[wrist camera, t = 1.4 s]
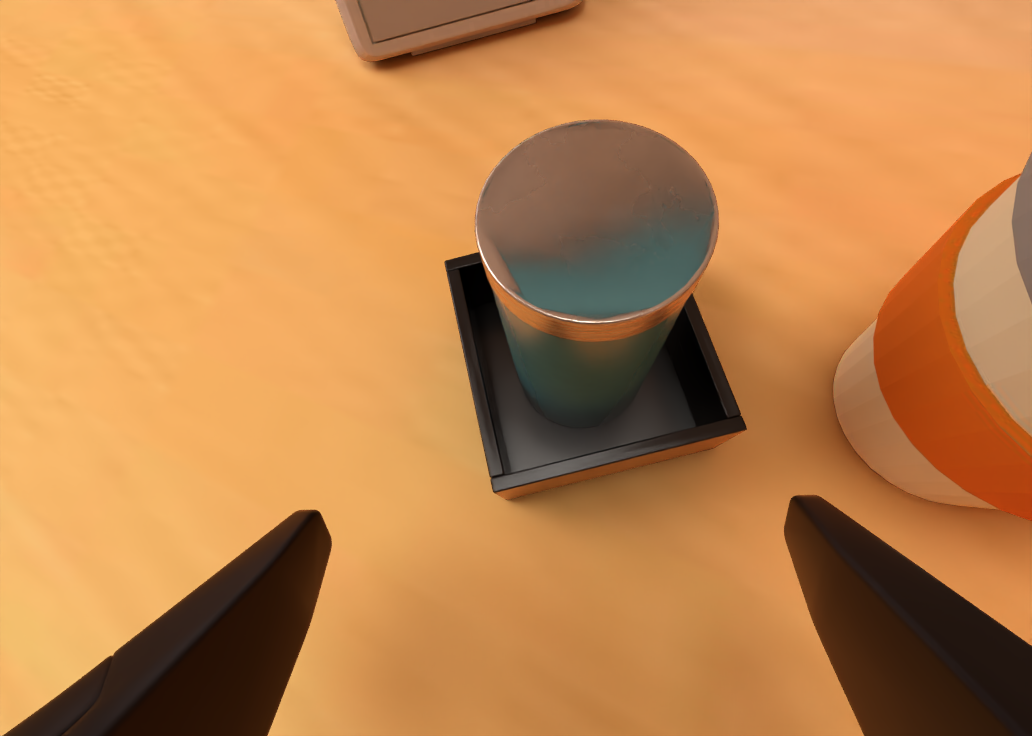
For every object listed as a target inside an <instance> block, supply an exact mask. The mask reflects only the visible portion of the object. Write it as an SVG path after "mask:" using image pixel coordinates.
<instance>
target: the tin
mask: <svg viewBox="0 0 1032 736" xmlns="http://www.w3.org/2000/svg"><path fill="white" fill-rule="evenodd" d="M718 229H719V212H718V206H717V201H716V196H715V194H714V191H713V188H712V186H711V183H710V181H709V180H708V178H707V176H706V174H705V172H704V171H703V169H702V168H701V167H700V166H699V164H698V163H697V162H696V160H695V159H694V158H693V157H692V156H691V155H690V154H689V153H688V152H687V151H686V150H684V149H683V148H682V147H681V146H679V145H678V144H677V143H675V142H674V141H672V140H671V139H669V138H667V137H666V136H664V135H662V134H660V133H658V132H655V131H653V130H651V129H649V128H646V127H643V126H639V125H636V124H632V123H627V122H623V121H614V120H583V121H575V122H570V123H565V124H561V125H558V126H555V127H552V128H549V129H546V130H544V131H542V132H540V133H537V134H535V135H533V136H532V137H530V138H528V139H526V140H525V141H523V142H522V143H520V144H519V145H518V146H516V147H515V148H513V149H512V150H511V151H510V152H509V153H508V154H507V155H506V156H505V157H503V158H502V160H501V161H500V162H499V163H498V164H497V165H496V167H495V168H494V169H493V171H492V172H491V174H490V175H489V177H488V178H487V180H486V182H485V184H484V186H483V189H482V191H481V193H480V196H479V200H478V203H477V207H476V214H475V236H476V242H477V247H478V250H479V253H480V256H481V260H482V263H483V266H484V269H485V272H486V276H487V278H488V280H489V282H490V284H491V287H492V291H493V294H494V297H495V301H496V304H497V307H498V311H499V314H500V317H501V321H502V324H503V328H504V331H505V334H506V338H507V341H508V344H509V348H510V351H511V355H512V358H513V361H514V365H515V368H516V371H517V375H518V378H519V382H520V385H521V388H522V390H523V392H524V395H525V397H526V398H527V400H528V401H529V403H530V404H531V405H532V406H533V407H534V408H535V410H537V411H538V412H539V413H540V414H541V415H543V416H544V417H546V418H547V419H549V420H551V421H553V422H555V423H558V424H560V425H563V426H568V427H575V428H587V427H594V426H598V425H601V424H604V423H607V422H609V421H611V420H613V419H614V418H616V417H617V416H619V415H620V414H621V413H623V412H624V411H625V410H626V409H627V408H628V407H629V405H630V404H631V403H632V401H633V400H634V398H635V397H636V395H637V393H638V391H639V389H640V387H641V385H642V384H643V382H644V380H645V378H646V376H647V374H648V372H649V370H650V368H651V367H652V365H653V363H654V361H655V359H656V357H657V355H658V353H659V351H660V350H661V348H662V346H663V344H664V342H665V340H666V338H667V336H668V334H669V333H670V331H671V329H672V327H673V325H674V323H675V321H676V319H677V317H678V316H679V314H680V312H681V310H682V308H683V306H684V304H685V302H686V300H687V299H688V298H689V296H690V295H691V293H692V292H693V290H694V289H695V287H696V286H697V284H698V282H699V280H700V278H701V276H702V275H703V273H704V271H705V269H706V267H707V265H708V263H709V261H710V259H711V257H712V254H713V252H714V249H715V245H716V242H717V238H718Z"/></svg>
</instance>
